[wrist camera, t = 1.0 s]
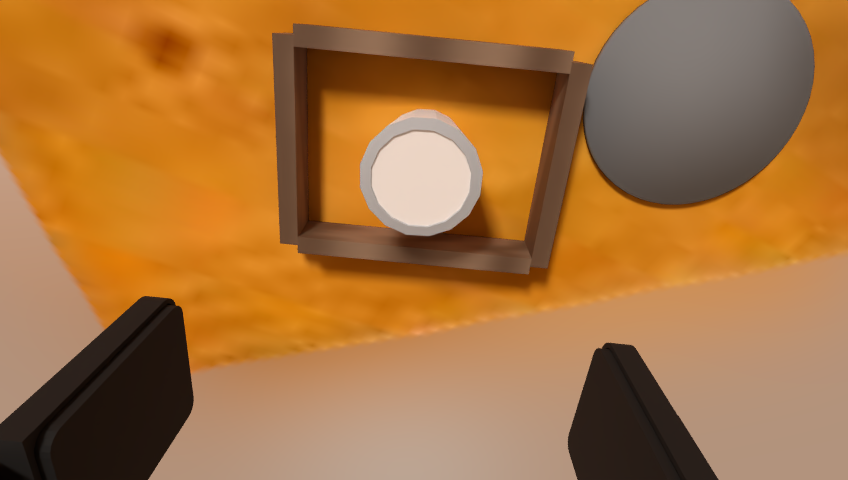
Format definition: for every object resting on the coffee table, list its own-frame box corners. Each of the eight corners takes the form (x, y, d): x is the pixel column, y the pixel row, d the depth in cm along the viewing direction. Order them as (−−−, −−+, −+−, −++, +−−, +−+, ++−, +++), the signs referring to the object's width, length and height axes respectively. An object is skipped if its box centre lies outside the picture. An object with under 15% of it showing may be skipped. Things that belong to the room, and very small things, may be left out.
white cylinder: (407, 214, 34) (400, 256, 28) (354, 132, 32) (334, 158, 25) (491, 168, 33) (504, 202, 26) (443, 78, 30) (444, 91, 24)
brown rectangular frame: (580, 51, 29) (595, 53, 27) (537, 257, 35) (545, 276, 33) (287, 22, 29) (271, 21, 26) (292, 233, 35) (280, 251, 32)
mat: (848, -11, 28) (855, -12, 27) (758, 211, 33) (762, 213, 33) (612, -36, 27) (615, -37, 27) (562, 192, 33) (564, 194, 33)
